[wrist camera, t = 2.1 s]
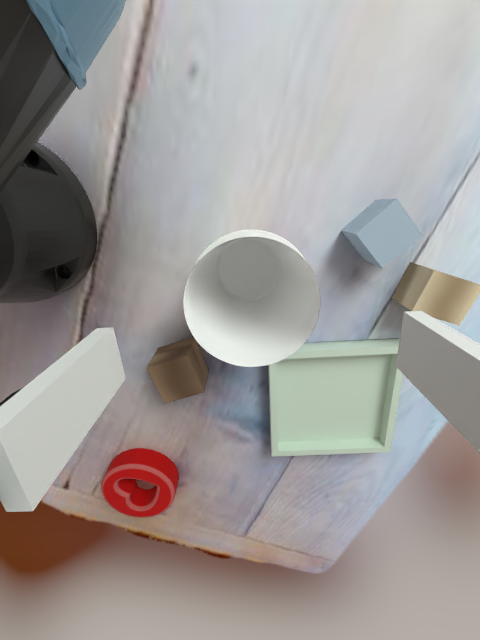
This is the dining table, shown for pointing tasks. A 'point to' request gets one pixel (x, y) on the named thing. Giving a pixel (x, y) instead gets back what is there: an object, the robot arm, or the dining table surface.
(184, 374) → the walnut block
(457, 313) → the oak block
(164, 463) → the decorative ornament
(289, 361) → the tray
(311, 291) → the cup
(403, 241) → the slate blue block
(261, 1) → the dining table surface
